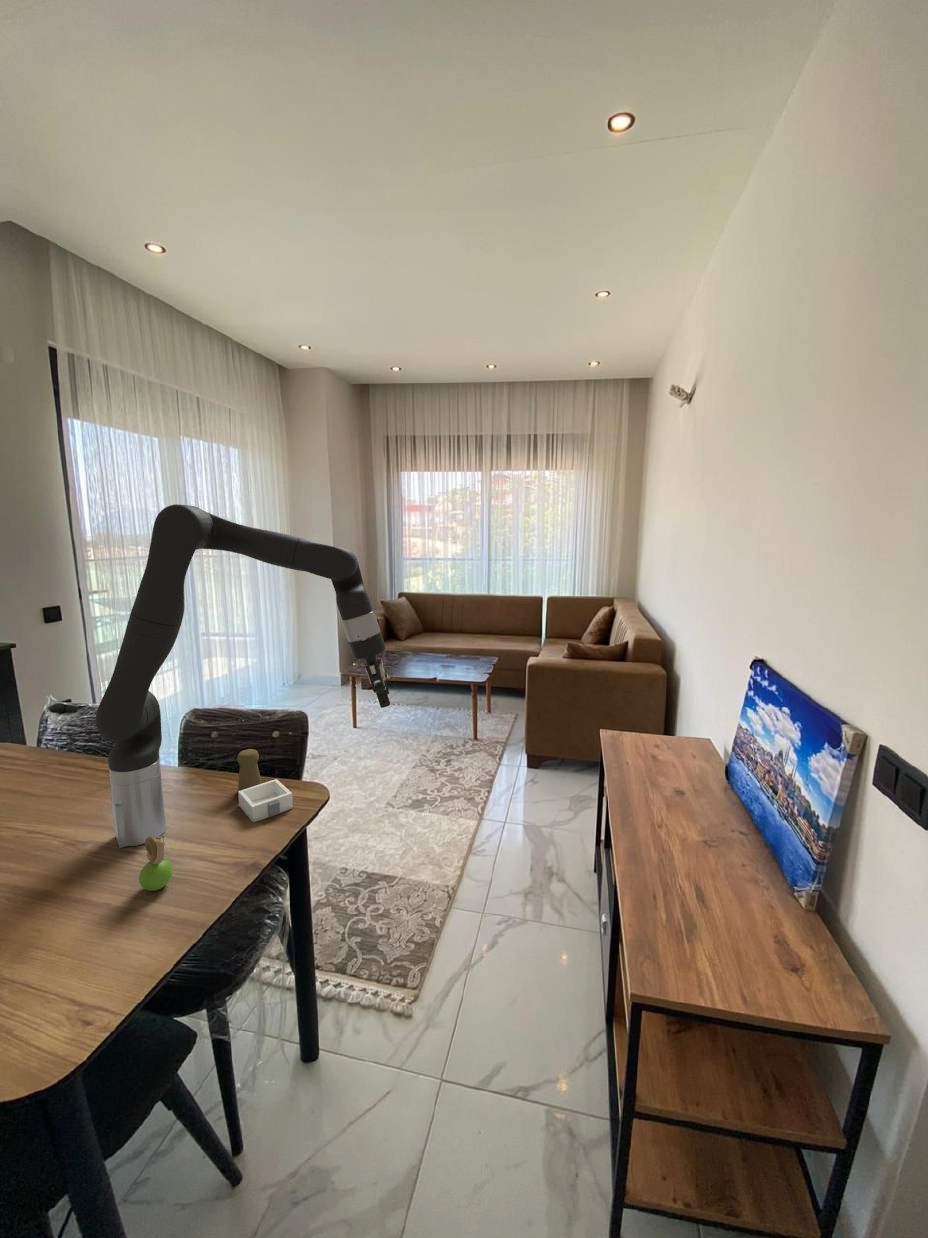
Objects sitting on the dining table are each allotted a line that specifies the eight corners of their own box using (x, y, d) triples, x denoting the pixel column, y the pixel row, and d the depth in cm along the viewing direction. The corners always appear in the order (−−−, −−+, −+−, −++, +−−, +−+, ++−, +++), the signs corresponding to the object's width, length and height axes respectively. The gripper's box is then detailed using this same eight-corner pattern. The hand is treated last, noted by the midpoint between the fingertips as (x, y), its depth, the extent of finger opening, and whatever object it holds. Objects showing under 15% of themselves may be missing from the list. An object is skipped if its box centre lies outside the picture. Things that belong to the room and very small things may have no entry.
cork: (253, 797, 126) (250, 757, 124) (232, 794, 127) (229, 755, 125) (267, 786, 132) (265, 747, 130) (247, 783, 133) (244, 745, 131)
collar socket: (254, 824, 114) (253, 809, 113) (239, 806, 122) (238, 791, 121) (294, 809, 120) (293, 794, 120) (277, 793, 128) (276, 778, 127)
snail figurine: (152, 904, 89) (145, 844, 87) (134, 890, 92) (128, 832, 90) (182, 886, 94) (176, 829, 92) (164, 874, 97) (159, 818, 95)
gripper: (349, 634, 116) (370, 696, 119) (345, 645, 102) (369, 716, 105) (379, 624, 117) (399, 687, 120) (380, 634, 103) (402, 705, 106)
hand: (385, 700), depth 112 cm, fingers open, 8 cm apart
